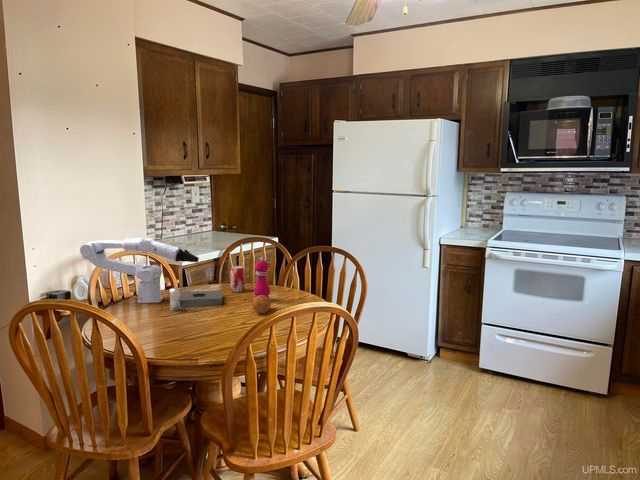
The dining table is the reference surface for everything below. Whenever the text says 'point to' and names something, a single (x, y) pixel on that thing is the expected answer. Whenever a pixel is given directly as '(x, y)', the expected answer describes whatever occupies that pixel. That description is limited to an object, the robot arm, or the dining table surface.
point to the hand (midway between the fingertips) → (196, 259)
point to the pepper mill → (262, 278)
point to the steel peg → (174, 299)
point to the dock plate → (201, 298)
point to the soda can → (237, 278)
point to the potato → (261, 304)
